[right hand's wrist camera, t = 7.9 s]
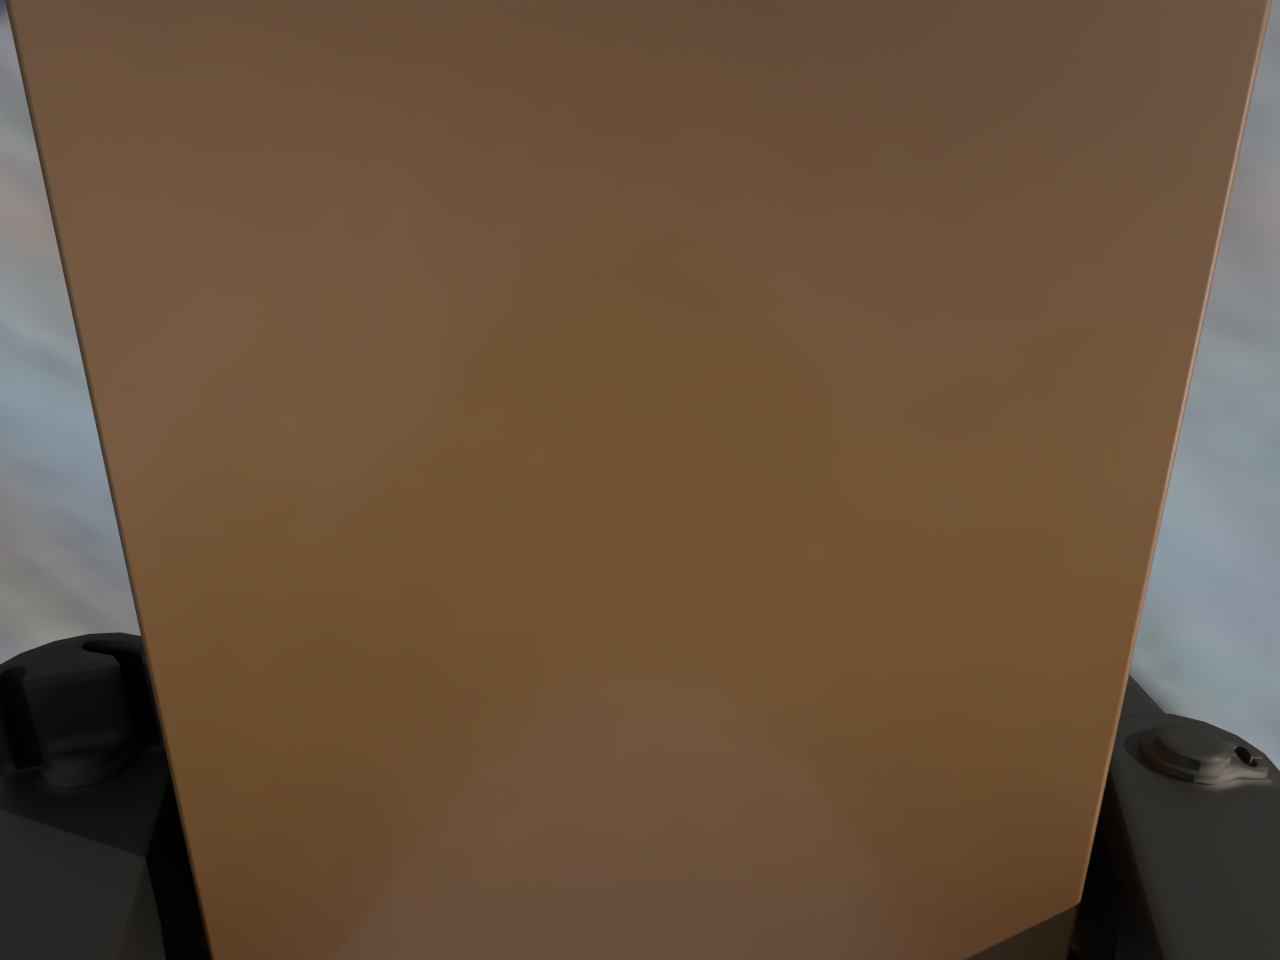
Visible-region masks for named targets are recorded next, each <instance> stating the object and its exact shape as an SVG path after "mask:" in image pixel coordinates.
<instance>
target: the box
mask: <svg viewBox="0 0 1280 960" xmlns="http://www.w3.org/2000/svg"><path fill="white" fill-rule="evenodd" d="M5 1H6V6H7V10H8V15H9V20H10V24H11V29H12V34H13V38H14V43H15V48H16V52H17V57H18V62H19V67H20V71H21V76H22V81H23V85H24V90H25V95H26V99H27V104H28V109H29V113H30V118H31V123H32V127H33V132H34V137H35V141H36V146H37V151H38V155H39V160H40V165H41V169H42V174H43V179H44V184H45V188H46V193H47V198H48V202H49V207H50V212H51V216H52V221H53V226H54V230H55V235H56V240H57V244H58V249H59V254H60V258H61V263H62V268H63V272H64V277H65V282H66V286H67V291H68V296H69V301H70V305H71V310H72V315H73V319H74V324H75V329H76V333H77V338H78V343H79V347H80V352H81V357H82V361H83V366H84V371H85V375H86V380H87V385H88V389H89V394H90V399H91V404H92V408H93V413H94V418H95V422H96V427H97V432H98V436H99V441H100V446H101V450H102V455H103V460H104V464H105V469H106V474H107V478H108V483H109V488H110V492H111V497H112V502H113V506H114V511H115V516H116V521H117V525H118V530H119V535H120V539H121V544H122V549H123V553H124V558H125V563H126V567H127V572H128V577H129V581H130V586H131V591H132V595H133V600H134V605H135V609H136V614H137V619H138V623H139V628H140V633H141V638H142V642H143V647H144V652H145V656H146V661H147V666H148V670H149V675H150V680H151V684H152V689H153V694H154V698H155V703H156V708H157V712H158V717H159V722H160V726H161V731H162V736H163V740H164V745H165V750H166V755H167V759H168V764H169V769H170V773H171V778H172V783H173V787H174V792H175V797H176V801H177V806H178V811H179V815H180V820H181V825H182V829H183V834H184V839H185V843H186V848H187V853H188V857H189V862H190V867H191V872H192V876H193V881H194V886H195V890H196V895H197V900H198V904H199V909H200V914H201V918H202V923H203V928H204V932H205V937H206V942H207V946H208V951H209V956H210V960H1068V958H1069V953H1070V948H1071V944H1072V939H1073V934H1074V930H1075V925H1076V920H1077V915H1078V911H1079V906H1080V901H1081V897H1082V892H1083V887H1084V883H1085V878H1086V873H1087V868H1088V864H1089V859H1090V854H1091V850H1092V845H1093V840H1094V836H1095V831H1096V826H1097V822H1098V817H1099V812H1100V807H1101V803H1102V798H1103V793H1104V789H1105V784H1106V779H1107V775H1108V770H1109V765H1110V760H1111V756H1112V751H1113V746H1114V742H1115V737H1116V732H1117V728H1118V723H1119V718H1120V713H1121V709H1122V704H1123V699H1124V695H1125V690H1126V685H1127V681H1128V676H1129V671H1130V666H1131V662H1132V657H1133V652H1134V648H1135V643H1136V638H1137V634H1138V629H1139V624H1140V620H1141V615H1142V610H1143V605H1144V601H1145V596H1146V591H1147V587H1148V582H1149V577H1150V573H1151V568H1152V563H1153V558H1154V554H1155V549H1156V544H1157V540H1158V535H1159V530H1160V526H1161V521H1162V516H1163V511H1164V507H1165V502H1166V497H1167V493H1168V488H1169V483H1170V479H1171V474H1172V469H1173V465H1174V460H1175V455H1176V450H1177V446H1178V441H1179V436H1180V432H1181V427H1182V422H1183V418H1184V413H1185V408H1186V403H1187V399H1188V394H1189V389H1190V385H1191V380H1192V375H1193V371H1194V366H1195V361H1196V356H1197V352H1198V347H1199V342H1200V338H1201V333H1202V328H1203V324H1204V319H1205V314H1206V310H1207V305H1208V300H1209V295H1210V291H1211V286H1212V281H1213V277H1214V272H1215V267H1216V263H1217V258H1218V253H1219V248H1220V244H1221V239H1222V234H1223V230H1224V225H1225V220H1226V216H1227V211H1228V206H1229V201H1230V197H1231V192H1232V187H1233V183H1234V178H1235V173H1236V169H1237V164H1238V159H1239V154H1240V150H1241V145H1242V140H1243V136H1244V131H1245V126H1246V122H1247V117H1248V112H1249V108H1250V103H1251V98H1252V93H1253V89H1254V84H1255V79H1256V75H1257V70H1258V65H1259V61H1260V56H1261V51H1262V46H1263V42H1264V37H1265V32H1266V28H1267V23H1268V18H1269V14H1270V9H1271V4H1272V0H5Z"/></svg>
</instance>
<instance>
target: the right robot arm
mask: <svg viewBox="0 0 1280 960" xmlns="http://www.w3.org/2000/svg"><path fill="white" fill-rule="evenodd" d="M0 960H210V956H209V951H208V946H207V942H206V937H205V932H204V928H203V923H202V918H201V914H200V909H199V904H198V900H197V895H196V890H195V886H194V881H193V876H192V872H191V867H190V862H189V857H188V853H187V848H186V843H185V839H184V834H183V829H182V825H181V820H180V815H179V811H178V806H177V801H176V797H175V792H174V787H173V783H172V778H171V773H170V769H169V764H168V759H167V755H166V750H165V745H164V740H163V736H162V731H161V726H160V722H159V717H158V712H157V708H156V703H155V698H154V694H153V689H152V684H151V680H150V675H149V670H148V666H147V661H146V656H145V652H144V647H143V642H142V638H141V636H137V635H131V634H126V633H99V634H87V635H82V636H77V637H72V638H67V639H63V640H58V641H54V642H51V643H48V644H45V645H42V646H40V647H37V648H34V649H31V650H29V651H26V652H23V653H20V654H19V655H17V656H15V657H13V658H11V659H10V660H8V661H6V662H4V663H2V664H1V665H0ZM1068 960H1280V771H1279V770H1278V769H1277V768H1276V766H1275V765H1274V764H1273V763H1272V762H1271V761H1270V760H1269V758H1268V757H1267V756H1266V755H1265V754H1264V753H1263V752H1261V751H1260V750H1258V749H1257V748H1255V747H1254V746H1252V745H1251V744H1249V743H1248V742H1246V741H1245V740H1243V739H1242V738H1240V737H1239V736H1237V735H1235V734H1232V733H1230V732H1227V731H1225V730H1223V729H1220V728H1218V727H1216V726H1213V725H1211V724H1208V723H1206V722H1203V721H1199V720H1195V719H1190V718H1186V717H1182V716H1178V715H1174V714H1165V713H1164V712H1163V711H1162V709H1161V708H1160V707H1159V706H1158V705H1157V704H1156V703H1155V702H1154V701H1153V700H1152V699H1151V698H1150V696H1149V695H1148V694H1147V693H1146V692H1145V691H1144V690H1143V689H1142V688H1141V687H1140V686H1139V685H1138V683H1137V682H1136V681H1135V680H1134V679H1133V678H1132V677H1131V676H1130V675H1129V676H1128V681H1127V685H1126V690H1125V695H1124V699H1123V704H1122V709H1121V713H1120V718H1119V723H1118V728H1117V732H1116V737H1115V742H1114V746H1113V751H1112V756H1111V760H1110V765H1109V770H1108V775H1107V779H1106V784H1105V789H1104V793H1103V798H1102V803H1101V807H1100V812H1099V817H1098V822H1097V826H1096V831H1095V836H1094V840H1093V845H1092V850H1091V854H1090V859H1089V864H1088V868H1087V873H1086V878H1085V883H1084V887H1083V892H1082V897H1081V901H1080V906H1079V911H1078V915H1077V920H1076V925H1075V930H1074V934H1073V939H1072V944H1071V948H1070V953H1069V958H1068Z"/></svg>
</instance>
